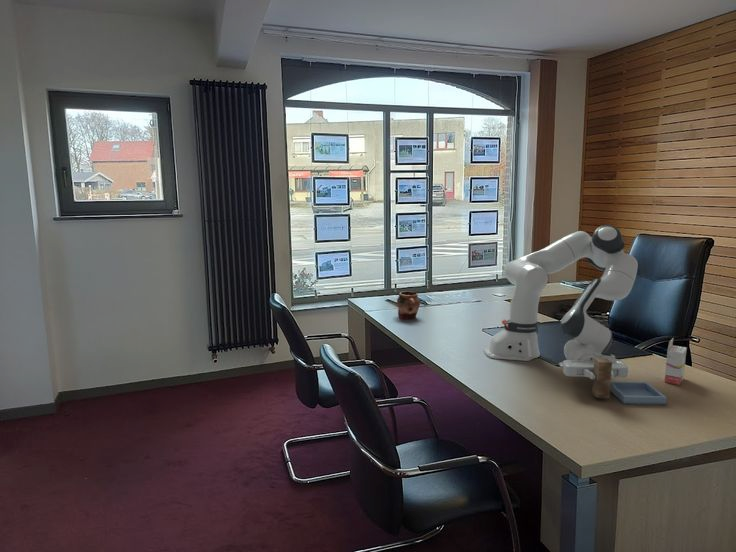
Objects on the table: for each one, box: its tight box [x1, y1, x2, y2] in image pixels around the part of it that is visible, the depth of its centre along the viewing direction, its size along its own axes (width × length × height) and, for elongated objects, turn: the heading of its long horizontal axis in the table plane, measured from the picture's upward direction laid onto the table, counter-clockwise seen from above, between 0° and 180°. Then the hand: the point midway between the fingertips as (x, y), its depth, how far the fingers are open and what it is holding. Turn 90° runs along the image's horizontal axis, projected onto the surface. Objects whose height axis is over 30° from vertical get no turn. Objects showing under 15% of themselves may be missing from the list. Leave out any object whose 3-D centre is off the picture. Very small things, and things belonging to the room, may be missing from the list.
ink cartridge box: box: [664, 337, 688, 386], centre depth 176 cm, size 9×5×15 cm, turn 141°
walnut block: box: [591, 358, 612, 399], centre depth 161 cm, size 4×4×12 cm
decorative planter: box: [396, 290, 421, 320], centre depth 269 cm, size 20×12×14 cm, turn 18°
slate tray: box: [610, 381, 668, 406], centre depth 164 cm, size 13×13×2 cm
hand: (603, 377), depth 160 cm, fingers closed on walnut block, 4 cm apart
